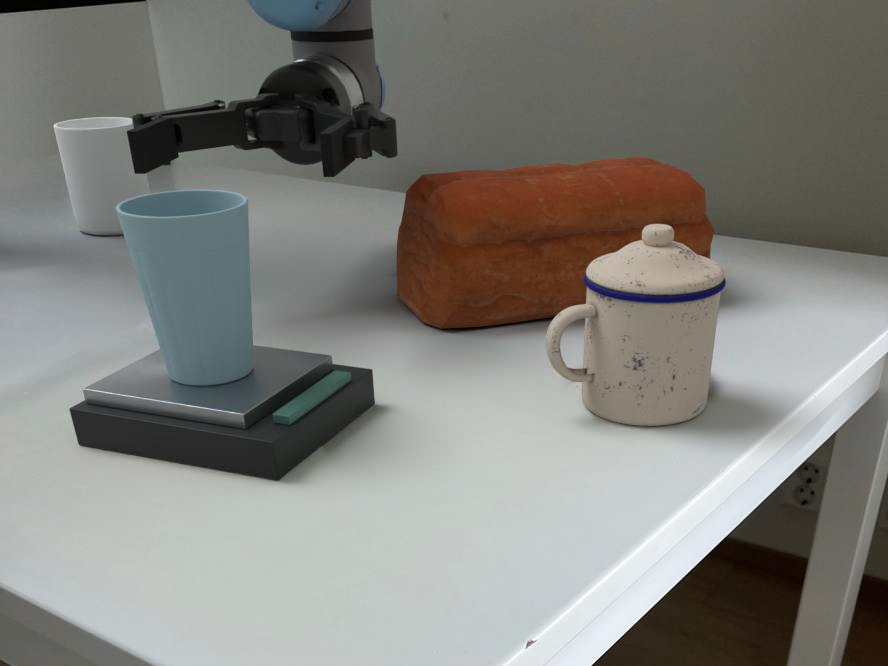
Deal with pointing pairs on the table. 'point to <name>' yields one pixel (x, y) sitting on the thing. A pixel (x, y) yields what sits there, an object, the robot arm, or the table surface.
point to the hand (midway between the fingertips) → (230, 154)
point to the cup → (194, 280)
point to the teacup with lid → (645, 331)
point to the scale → (226, 412)
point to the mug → (98, 170)
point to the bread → (532, 235)
